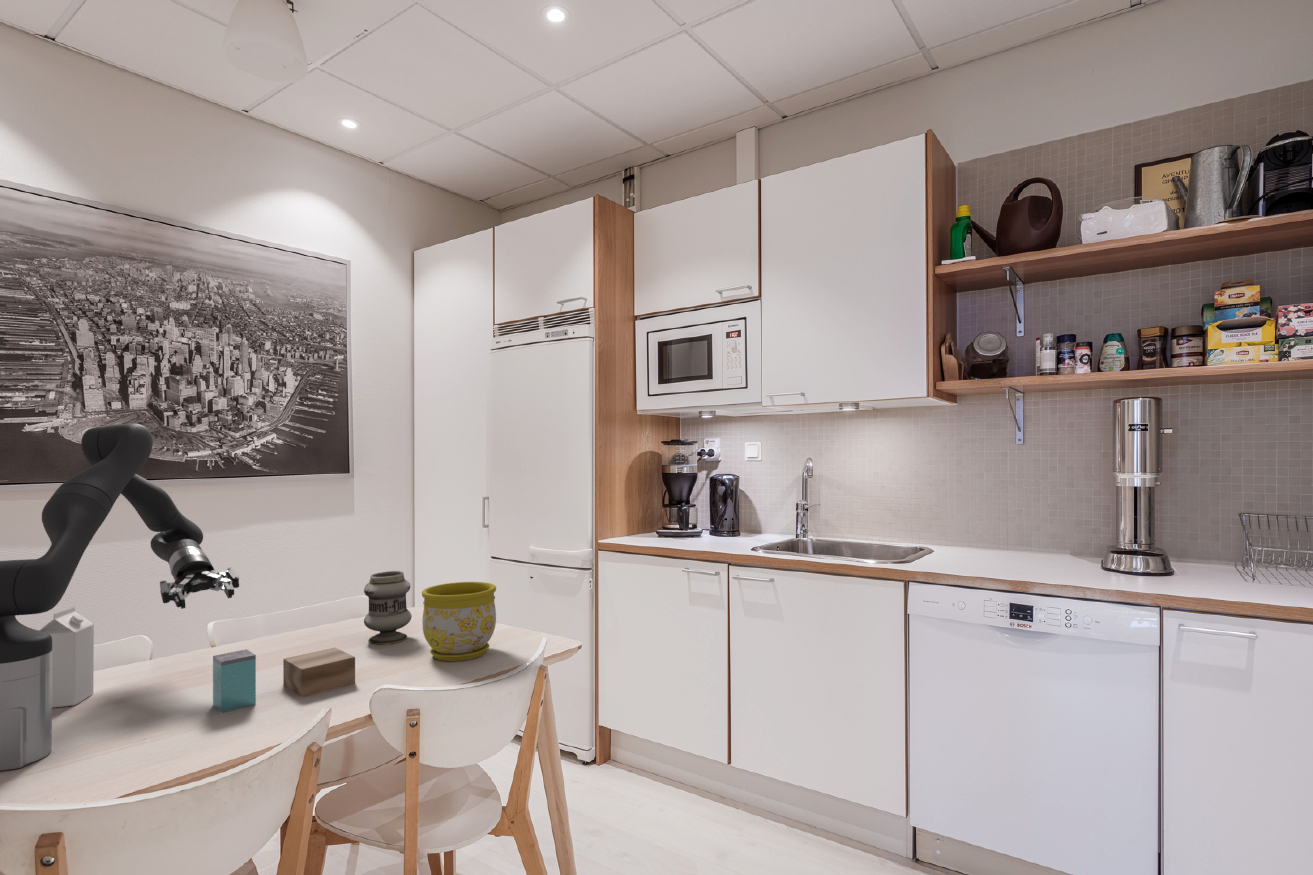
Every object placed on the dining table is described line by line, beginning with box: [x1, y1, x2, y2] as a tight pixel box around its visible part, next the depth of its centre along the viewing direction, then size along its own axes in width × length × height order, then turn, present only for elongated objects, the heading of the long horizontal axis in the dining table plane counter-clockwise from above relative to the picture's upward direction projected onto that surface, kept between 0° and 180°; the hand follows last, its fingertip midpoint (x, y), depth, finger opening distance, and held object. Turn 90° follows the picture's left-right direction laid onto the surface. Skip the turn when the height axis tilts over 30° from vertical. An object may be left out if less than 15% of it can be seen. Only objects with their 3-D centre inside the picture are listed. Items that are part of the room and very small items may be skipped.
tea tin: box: [212, 649, 257, 714], centre depth 134 cm, size 6×6×10 cm
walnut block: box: [282, 647, 356, 698], centre depth 146 cm, size 11×11×6 cm
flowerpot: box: [421, 581, 497, 662], centre depth 167 cm, size 18×18×16 cm
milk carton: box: [38, 606, 95, 709], centre depth 137 cm, size 7×7×19 cm
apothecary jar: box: [363, 570, 412, 646], centre depth 181 cm, size 12×12×18 cm
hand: (207, 599), depth 143 cm, fingers open, 8 cm apart
